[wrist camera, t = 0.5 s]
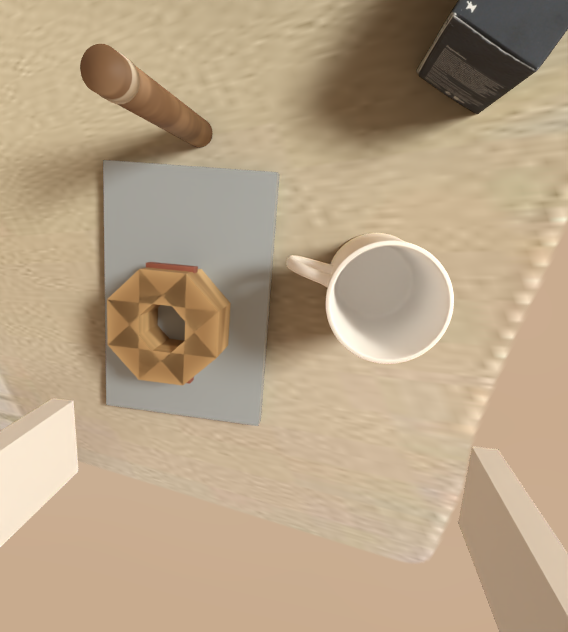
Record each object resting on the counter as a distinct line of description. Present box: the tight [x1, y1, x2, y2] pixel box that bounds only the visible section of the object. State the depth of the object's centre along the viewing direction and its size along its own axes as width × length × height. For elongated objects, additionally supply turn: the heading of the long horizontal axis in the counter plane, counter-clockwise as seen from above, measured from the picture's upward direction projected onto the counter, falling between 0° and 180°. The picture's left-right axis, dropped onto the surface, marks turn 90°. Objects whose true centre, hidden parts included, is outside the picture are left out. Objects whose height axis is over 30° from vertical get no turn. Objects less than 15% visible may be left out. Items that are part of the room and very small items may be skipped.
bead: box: [107, 262, 231, 385], centre depth 39 cm, size 11×10×4 cm
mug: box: [286, 233, 454, 364], centre depth 33 cm, size 12×8×12 cm
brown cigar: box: [80, 44, 212, 147], centre depth 30 cm, size 2×2×16 cm
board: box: [103, 160, 279, 426], centre depth 41 cm, size 24×16×1 cm, turn 175°
